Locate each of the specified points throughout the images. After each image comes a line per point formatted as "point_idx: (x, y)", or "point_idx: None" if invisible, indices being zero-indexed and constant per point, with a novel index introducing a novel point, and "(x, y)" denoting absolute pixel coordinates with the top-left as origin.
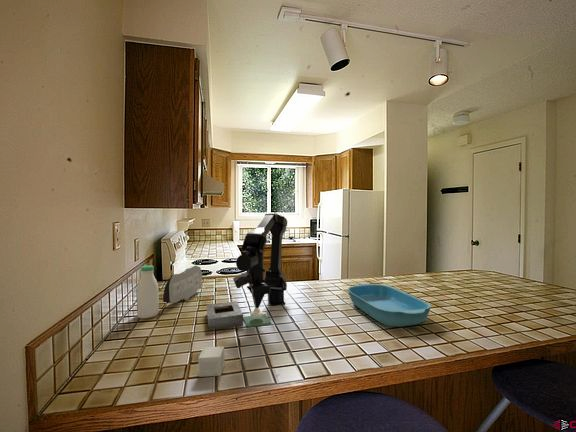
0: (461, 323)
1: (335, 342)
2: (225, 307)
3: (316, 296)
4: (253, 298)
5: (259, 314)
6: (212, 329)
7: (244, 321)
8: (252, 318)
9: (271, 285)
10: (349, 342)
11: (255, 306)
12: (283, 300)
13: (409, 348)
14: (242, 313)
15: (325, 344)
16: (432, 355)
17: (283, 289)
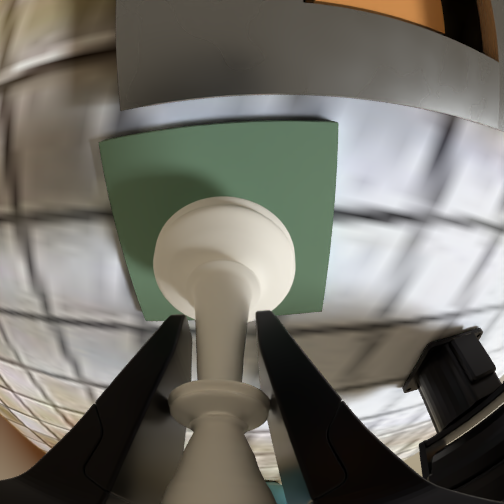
0: None
1: (29, 401)
2: (481, 3)
3: (386, 443)
4: (274, 398)
5: (162, 291)
6: None
7: (242, 121)
8: (261, 204)
9: (476, 441)
10: (38, 416)
11: (201, 318)
12: (420, 392)
13: (47, 444)
14: (157, 102)
15: (12, 383)
16: (36, 444)
17: (420, 452)
